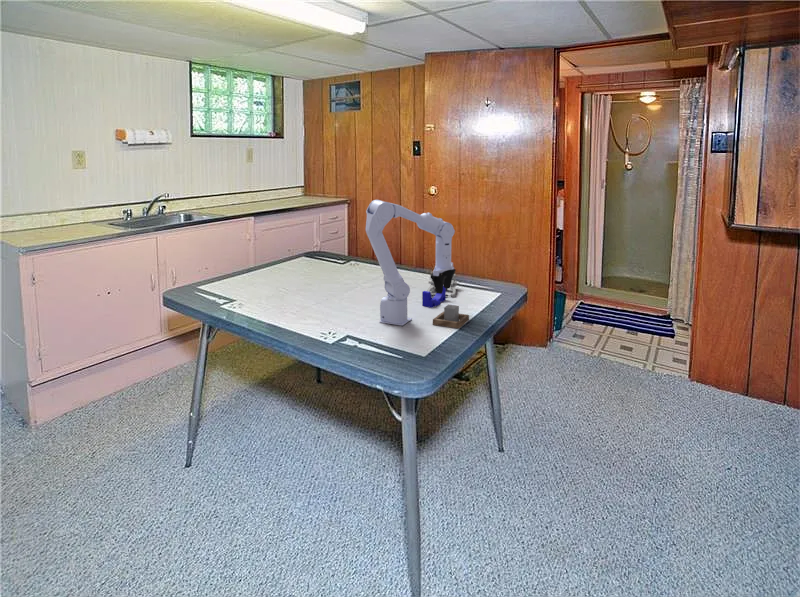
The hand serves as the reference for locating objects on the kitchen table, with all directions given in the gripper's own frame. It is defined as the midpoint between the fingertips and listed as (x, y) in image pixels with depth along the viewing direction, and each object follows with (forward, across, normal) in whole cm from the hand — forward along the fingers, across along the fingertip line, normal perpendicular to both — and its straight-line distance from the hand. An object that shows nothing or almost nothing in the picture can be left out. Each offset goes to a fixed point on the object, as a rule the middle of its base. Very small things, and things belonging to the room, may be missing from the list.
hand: (443, 290), depth 198 cm
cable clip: (+10, +13, +8) cm, 18 cm away
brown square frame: (+9, -7, -6) cm, 13 cm away
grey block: (+10, -7, -6) cm, 13 cm away
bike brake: (+10, +26, +11) cm, 30 cm away
